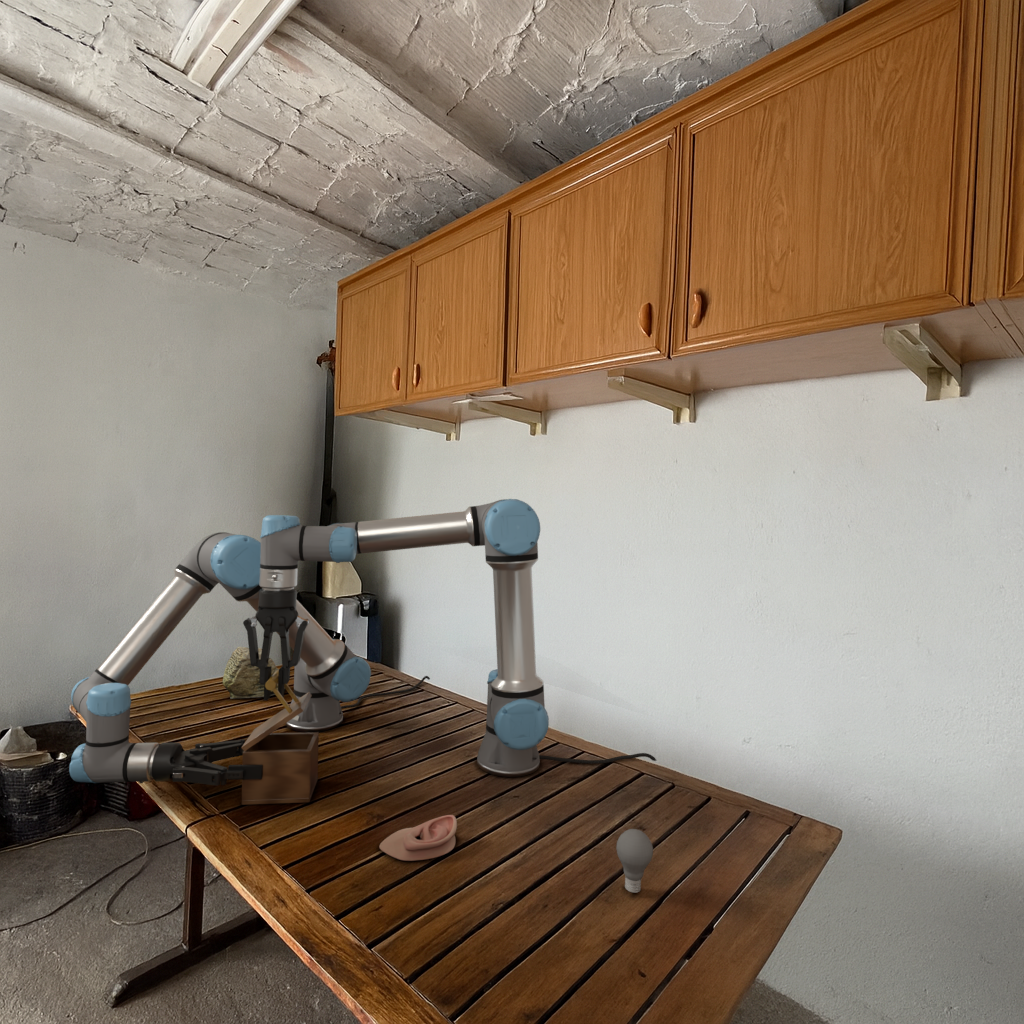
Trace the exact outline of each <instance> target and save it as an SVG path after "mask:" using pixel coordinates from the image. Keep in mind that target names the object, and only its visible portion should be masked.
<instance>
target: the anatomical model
mask: <svg viewBox="0 0 1024 1024" xmlns="http://www.w3.org/2000/svg"><path fill="white" fill-rule="evenodd" d="M457 830H458V820H457V818H456V816H455V815H453V814H446V815H442V816H441V815H440V816H438V817H435V818H433V819H430V820H427V821H425V822H423V823H421V824H419V825H416V826H414V827H406V828H402V829H399V830H397V831H395V832H393V833H392V834H389V835H388V836H387V837H386V838H385V839H384V840H382V841H381V842H380V844H379V850H381V852H383V853H384V854H386V855H388V856H390V857H392V858H394V859H397V860H400V861H403V862H414V861H423V860H429V859H430V860H431V859H434V858H439V857H441V856H444V855H446V854H448V853H450V852H451V851H452V850H453V849H454V848H455V846H456V842H457V841H456V836H455V835H456V833H457Z"/></svg>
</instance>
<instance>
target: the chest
mask: <svg viewBox="0 0 1024 1024" xmlns="http://www.w3.org/2000/svg"><path fill="white" fill-rule="evenodd" d="M319 736H320V731H318V732H272V733H271V734H269V735H268V736H266V737H265V738H263V739H262V740H260V741H259V742H258V743H256V744H255V745H253V746H252V747H250V748H249V749H247V750H246V751H244V752H243V755H242V764H241V765H263V775H262V779H247V780H241V805H242V806H244V805H245V806H246V805H247V806H248V805H273V804H297V803H298V804H299V803H303V804H304V803H310V802H311V800H312V796H313V794H314V791H315V789H316V786H317V783H318V779H319V778H318V776H319V739H320V738H319Z"/></svg>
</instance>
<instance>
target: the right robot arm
mask: <svg viewBox="0 0 1024 1024" xmlns="http://www.w3.org/2000/svg"><path fill="white" fill-rule="evenodd" d="M540 534H541V521H540V518H539V516H538V514H537V512H536V511H535V509H534V508H532V506H531V505H530V504H529V503H527V502H525V501H523V500H520V499H517V498H503V499H498V500H495V501H492V502H490V503H486V504H480V505H473V506H472V505H471V506H468V507H467V508H466V509H465V510H463V511H453V512H444V513H434V514H423V515H413V516H403V517H393V518H384V519H383V518H382V519H373V520H363V521H354V522H344V523H343V522H336V523H331V524H329V525H327V526H325V525H320V526H319V525H305V524H301V522H300V518H299V516H297V515H285V514H268V515H265V516H264V517H263V518H262V522H261V531H260V536H259V538H260V542H261V556H260V577H259V586H260V587H262V589H260V590H259V603H258V611H257V612H255V615H254V616H252V617H248V618H246V619H244V620H243V623H242V624H243V627H244V628H245V630H246V634H247V642H248V643H247V644H248V648H249V654H250V663H251V665H252V666H256V667H258V668H259V669H260V679H259V682H260V684H264V697H263V701H264V702H267V701H269V700H270V698H271V696H270V695H271V690H267V689H266V687H265V684H266V682H267V681H268V680H269V679H270V677H271V669H272V666H268V667H267V665H268V664H269V663H268V661H269V658H270V653H271V648H272V640H273V635H274V633H277V632H278V633H279V634H280V636H279V638H280V640H279V641H280V653H281V666H280V668H278V669H279V676H278V681H279V682H278V691H279V692H280V694H281V695H282V697H283V698H285V691H284V684H288V683H289V682H290V680H291V668H293V667H295V666H296V665H297V664H298V663H299V661H300V655H301V650H302V644H303V639H304V633H305V629H306V627H307V626H308V624H309V620H308V619H303V618H302V617H300V616H298V612H297V610H296V599H297V597H298V595H297V593H298V591H297V590H296V588H295V587H297V586H298V573H299V572H298V571H299V569H298V568H299V567H298V565H299V561H300V562H301V561H302V562H306V561H307V562H326V563H327V562H330V563H337V564H340V563H351V562H353V561H354V560H355V559H356V556H357V555H360V554H368V553H370V554H371V553H380V552H390V551H401V550H410V549H418V548H419V549H421V548H429V547H440V546H451V545H461V544H469V545H470V546H471V547H482V546H483V547H484V556H485V563H486V564H487V565H488V566H489V567H490V568H491V569H492V578H493V581H492V582H493V601H494V602H493V603H494V622H495V623H494V624H495V644H496V646H495V647H496V666H497V667H496V668H497V669H492V670H490V672H489V673H488V677H487V682H486V684H487V695H486V696H487V697H486V698H487V699H486V718H485V719H486V721H485V723H486V724H485V733H484V735H483V738H482V741H481V744H480V747H479V749H478V752H477V757H476V764H477V766H478V768H479V769H480V770H482V771H483V772H485V773H488V774H490V775H492V776H498V777H505V778H506V777H507V778H517V777H518V778H519V777H524V776H529V775H531V774H533V773H536V771H538V770H539V768H540V763H541V762H540V761H541V760H546V761H547V760H548V761H554V762H562V763H563V762H564V763H574V764H582V765H583V764H585V765H600V764H602V765H603V764H609V763H614V762H618V761H622V760H630V759H636V758H641V757H642V758H644V757H645V758H648V759H650V760H651V761H653V762H656V761H657V759H656V757H655V756H653V754H652V755H651V754H650V753H646V752H638V753H634V754H628V755H625V754H624V755H618V756H615V757H611V758H604V759H578V758H567V757H559V756H550V755H541V754H540V753H539V749H538V746H537V745H539V744H540V743H541V742H542V741H543V740H544V739H545V737H546V736H547V733H548V730H549V727H550V724H549V723H550V721H549V719H550V718H549V714H548V711H547V709H546V706H545V686H544V680H543V679H542V678H541V677H540V676H539V675H538V674H537V659H536V639H535V638H536V635H535V615H534V614H535V613H534V593H533V590H534V589H533V588H534V587H533V566H534V565H535V564H536V563H537V561H538V560H539V547H538V545H539V544H538V540H539V539H540ZM295 621H296V622H297V625H296V626H297V628H299V629H298V631H297V635H296V641H295V646H294V650H293V653H292V659H291V647H290V646H289V628H290V627H291V626H292V624H293V623H294V622H295ZM258 623H259V625H260V626H261V628H262V629H263V637H262V647H261V649H262V652H261V659H259V652H258V648H259V643H258V642H259V641H258V634H257V625H258ZM288 685H289V684H288ZM277 702H280V700H279V699H278V698H277Z"/></svg>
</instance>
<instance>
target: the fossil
mask: <svg viewBox="0 0 1024 1024" xmlns="http://www.w3.org/2000/svg"><path fill="white" fill-rule="evenodd" d="M258 652H259V659H261V652H262V647H261V648H260V647H258ZM268 663H269V664H268V665H267V667H268V666H272V669H271V676H272V675H273V674H274V673H275V671H277V670H279V669H280V668H278V667H277V665H276V663H275V662H274V660H273V659H272V658H271V657H269V661H268ZM222 676H223V677H222V685H223V687H224V688H225V690H226V691H228V693H229V698H230V699H250V698H264V684H260V682H259V679H260V669H259V668H258V667H256V666H252V665H251V663H250V654H249V647H247V646H246V647H245V646H238V647H237V648H236V649H235V650H233V651H232V653H231V656H230V657H229V659H228V660H227V663H226V666H225V668H224V671H223V675H222ZM276 688H277V690H278V685H277V686H276ZM285 691H287V690H286V689H285V687H284V692H285ZM271 696H276V695H275V693H274V692H273V691H272V690H271V695H270V697H271Z"/></svg>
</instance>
